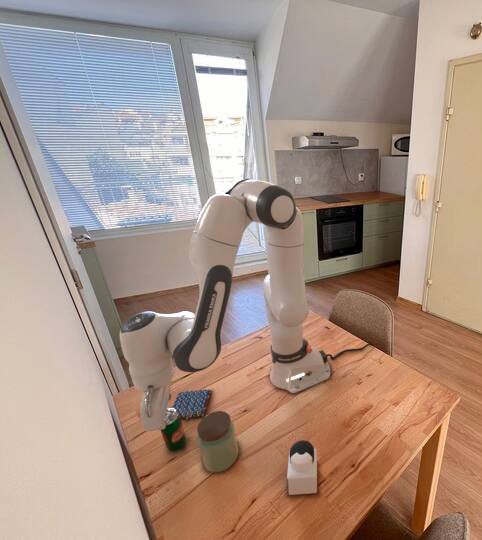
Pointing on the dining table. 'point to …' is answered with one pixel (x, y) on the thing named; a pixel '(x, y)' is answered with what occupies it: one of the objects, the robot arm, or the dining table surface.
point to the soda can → (173, 431)
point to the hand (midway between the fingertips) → (165, 412)
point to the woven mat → (192, 403)
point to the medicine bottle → (302, 468)
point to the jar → (217, 441)
